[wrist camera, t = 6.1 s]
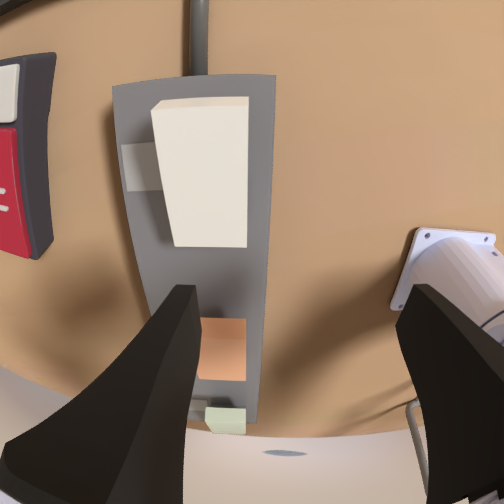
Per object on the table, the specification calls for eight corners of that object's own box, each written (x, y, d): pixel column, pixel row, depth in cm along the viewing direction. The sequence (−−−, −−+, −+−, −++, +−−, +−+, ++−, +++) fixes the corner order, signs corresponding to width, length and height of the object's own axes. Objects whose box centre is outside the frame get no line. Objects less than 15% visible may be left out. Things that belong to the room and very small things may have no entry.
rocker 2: (245, 408, 24) (245, 423, 23) (245, 423, 29) (245, 434, 28) (205, 406, 24) (204, 421, 23) (213, 421, 28) (212, 433, 28)
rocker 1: (248, 96, 10) (248, 106, 10) (247, 228, 15) (246, 247, 14) (160, 100, 10) (150, 110, 9) (179, 228, 15) (174, 246, 14)
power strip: (274, -64, 9) (279, -95, 5) (256, 401, 32) (256, 430, 29) (140, -52, 9) (114, -75, 5) (190, 398, 32) (186, 427, 29)
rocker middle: (246, 318, 17) (245, 339, 16) (246, 364, 22) (245, 380, 21) (185, 316, 17) (182, 336, 16) (200, 362, 22) (199, 378, 21)
